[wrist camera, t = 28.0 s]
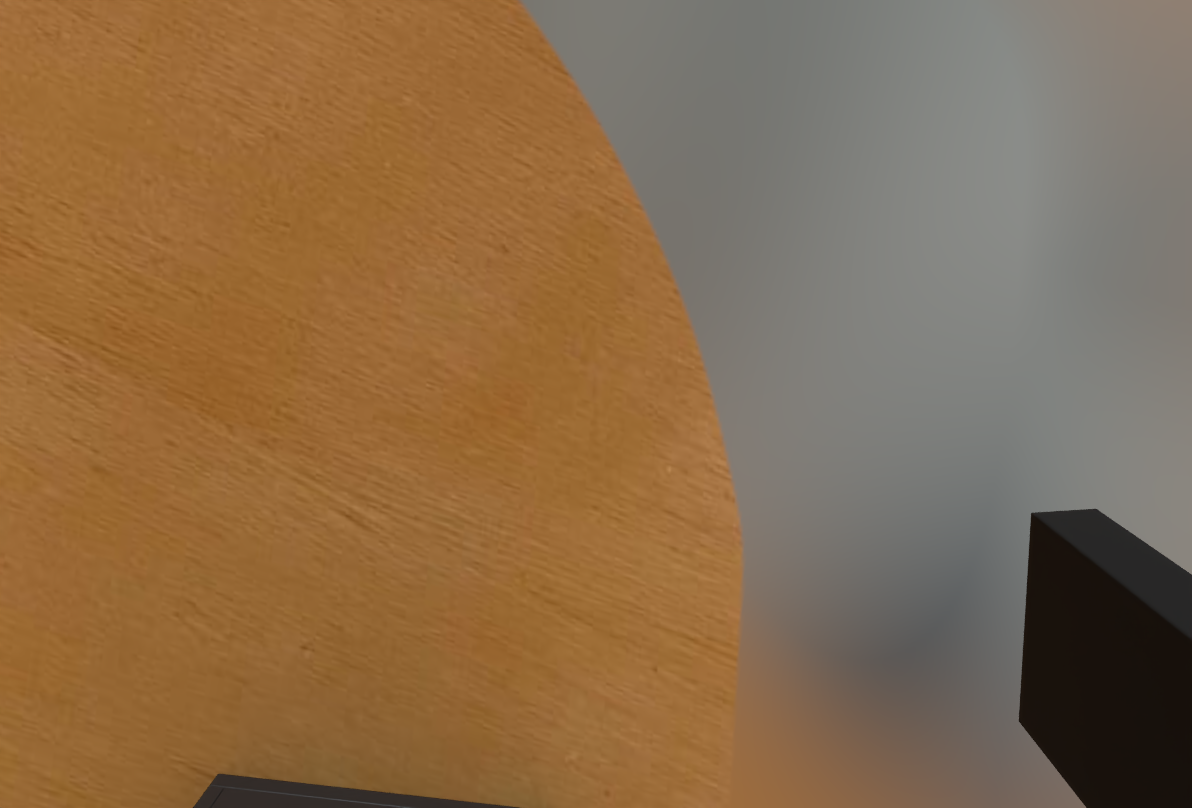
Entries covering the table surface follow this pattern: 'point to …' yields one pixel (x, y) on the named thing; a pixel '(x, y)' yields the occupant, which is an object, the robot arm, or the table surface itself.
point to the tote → (311, 796)
